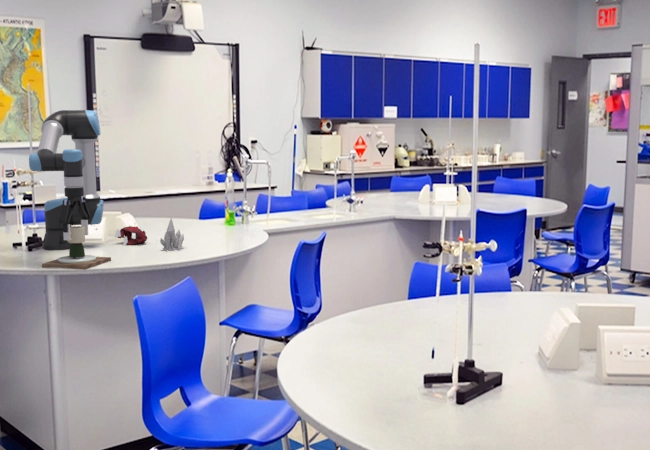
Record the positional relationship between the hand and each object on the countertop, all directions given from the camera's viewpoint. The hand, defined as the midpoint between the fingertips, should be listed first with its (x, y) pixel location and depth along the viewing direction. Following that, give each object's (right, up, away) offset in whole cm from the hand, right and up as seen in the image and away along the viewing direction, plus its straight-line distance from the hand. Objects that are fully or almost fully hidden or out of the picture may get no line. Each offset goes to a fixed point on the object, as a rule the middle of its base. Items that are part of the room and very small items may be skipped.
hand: (76, 237), depth 312 cm
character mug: (0, -9, +1) cm, 9 cm away
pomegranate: (+9, -4, +56) cm, 57 cm away
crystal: (+33, -6, +40) cm, 52 cm away
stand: (0, -11, +1) cm, 11 cm away
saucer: (0, -10, +1) cm, 10 cm away
